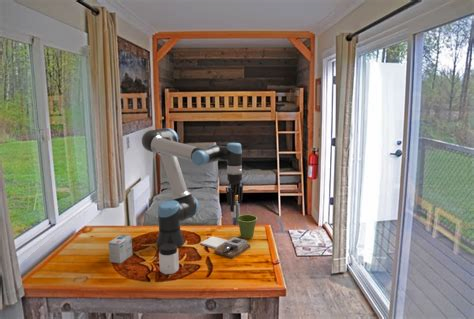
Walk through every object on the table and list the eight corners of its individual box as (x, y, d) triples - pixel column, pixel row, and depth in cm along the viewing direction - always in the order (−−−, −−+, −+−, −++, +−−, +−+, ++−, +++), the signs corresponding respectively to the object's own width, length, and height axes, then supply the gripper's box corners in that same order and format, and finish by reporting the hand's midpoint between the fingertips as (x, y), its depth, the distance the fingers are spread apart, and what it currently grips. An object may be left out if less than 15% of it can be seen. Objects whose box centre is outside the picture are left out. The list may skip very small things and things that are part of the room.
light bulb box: (122, 253, 200) (120, 233, 198) (133, 255, 198) (131, 235, 196) (109, 262, 190) (107, 241, 188) (120, 263, 188) (119, 243, 186)
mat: (200, 244, 210) (200, 242, 209) (212, 237, 218) (212, 236, 218) (216, 248, 203) (215, 247, 203) (228, 241, 212) (228, 240, 212)
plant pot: (234, 239, 215) (234, 220, 213) (239, 232, 227) (239, 214, 225) (255, 241, 213) (255, 222, 211) (258, 233, 224) (258, 215, 222)
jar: (160, 275, 175) (158, 251, 173) (159, 267, 183) (158, 244, 181) (179, 273, 177) (178, 249, 175) (178, 265, 185) (177, 242, 183)
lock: (214, 252, 198) (214, 245, 198) (232, 242, 211) (232, 235, 210) (233, 258, 192) (232, 251, 191) (250, 247, 204) (250, 240, 204)
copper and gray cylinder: (235, 225, 199) (235, 196, 196) (231, 224, 201) (230, 195, 198) (239, 224, 201) (239, 195, 198) (235, 222, 203) (234, 194, 200)
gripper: (231, 176, 187) (232, 222, 192) (249, 170, 200) (249, 213, 205) (219, 175, 192) (220, 219, 196) (237, 169, 205) (237, 210, 209)
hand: (235, 216), depth 200 cm, fingers closed on copper and gray cylinder, 3 cm apart
